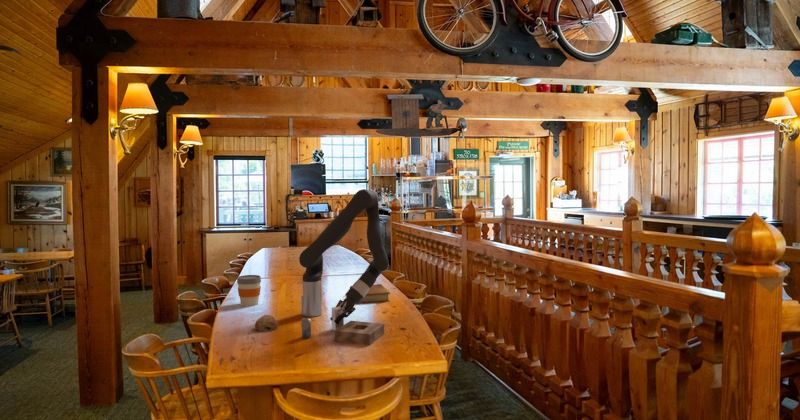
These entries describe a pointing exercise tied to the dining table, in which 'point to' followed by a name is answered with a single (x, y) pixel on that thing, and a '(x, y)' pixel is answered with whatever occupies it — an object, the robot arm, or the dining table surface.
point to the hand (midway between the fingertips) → (333, 321)
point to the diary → (376, 294)
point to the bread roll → (266, 323)
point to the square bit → (335, 314)
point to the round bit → (306, 328)
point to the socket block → (359, 332)
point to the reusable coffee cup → (249, 289)
